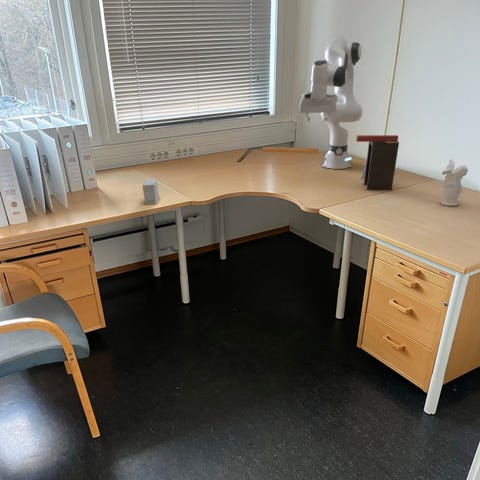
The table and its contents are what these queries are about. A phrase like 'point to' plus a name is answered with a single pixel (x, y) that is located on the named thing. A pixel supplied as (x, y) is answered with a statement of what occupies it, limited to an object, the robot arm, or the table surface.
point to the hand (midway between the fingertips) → (316, 121)
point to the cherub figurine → (452, 183)
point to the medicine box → (364, 171)
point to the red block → (377, 138)
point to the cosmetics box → (151, 191)
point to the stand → (380, 165)
